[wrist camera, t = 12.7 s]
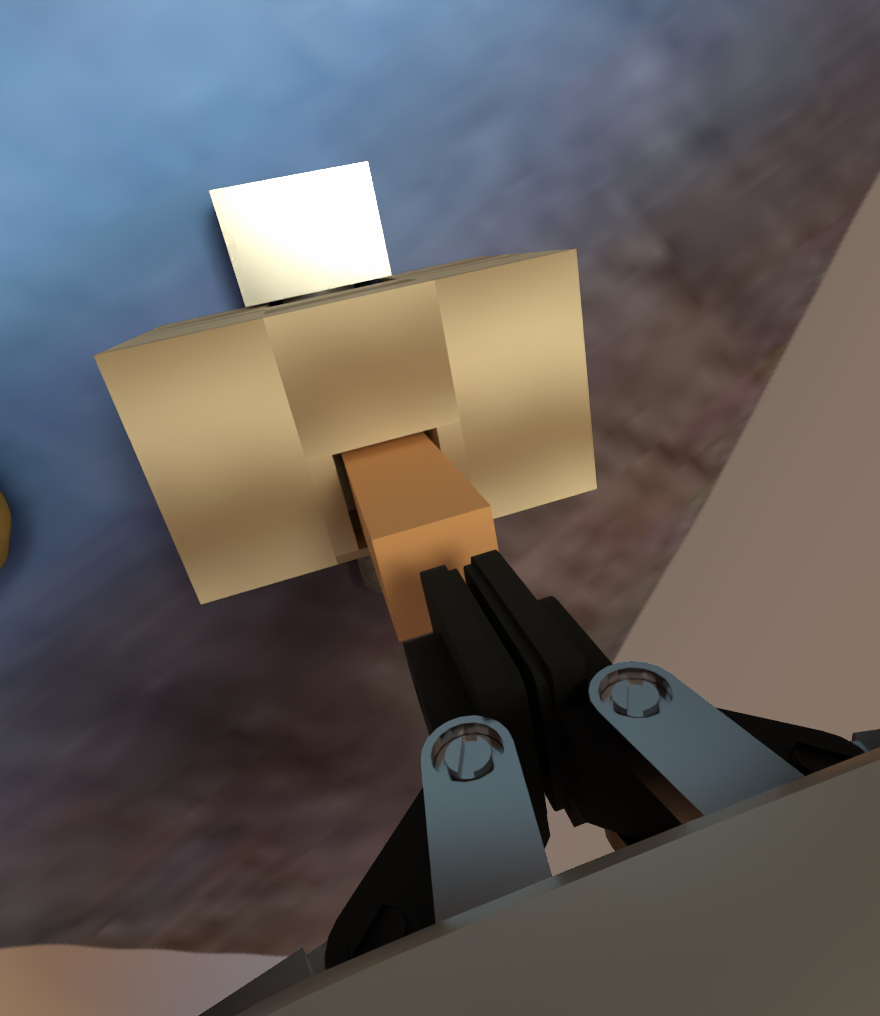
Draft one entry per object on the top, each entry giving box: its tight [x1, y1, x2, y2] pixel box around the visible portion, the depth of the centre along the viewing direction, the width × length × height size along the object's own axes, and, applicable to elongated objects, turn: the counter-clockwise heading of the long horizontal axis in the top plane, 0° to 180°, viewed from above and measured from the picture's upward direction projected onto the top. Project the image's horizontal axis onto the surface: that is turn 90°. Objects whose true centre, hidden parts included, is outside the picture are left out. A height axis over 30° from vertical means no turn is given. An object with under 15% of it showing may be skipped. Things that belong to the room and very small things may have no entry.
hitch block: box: [94, 249, 597, 604], centre depth 23 cm, size 8×14×10 cm, turn 101°
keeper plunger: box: [341, 431, 499, 642], centre depth 17 cm, size 3×3×7 cm
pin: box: [209, 161, 391, 593], centre depth 26 cm, size 18×6×3 cm, turn 11°
